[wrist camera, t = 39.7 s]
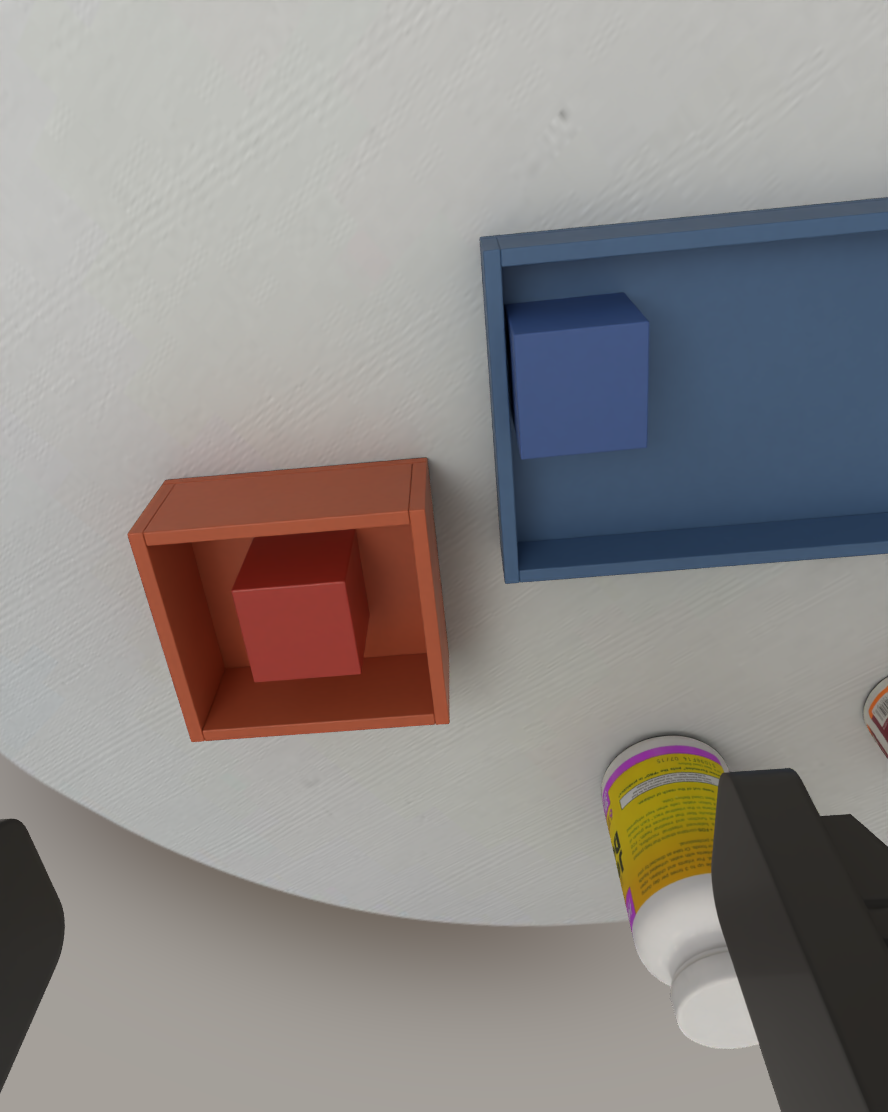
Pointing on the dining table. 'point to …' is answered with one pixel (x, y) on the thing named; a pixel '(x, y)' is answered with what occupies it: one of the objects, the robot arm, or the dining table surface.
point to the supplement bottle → (676, 881)
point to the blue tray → (710, 393)
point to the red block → (303, 606)
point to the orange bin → (211, 620)
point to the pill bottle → (878, 715)
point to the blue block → (578, 375)
